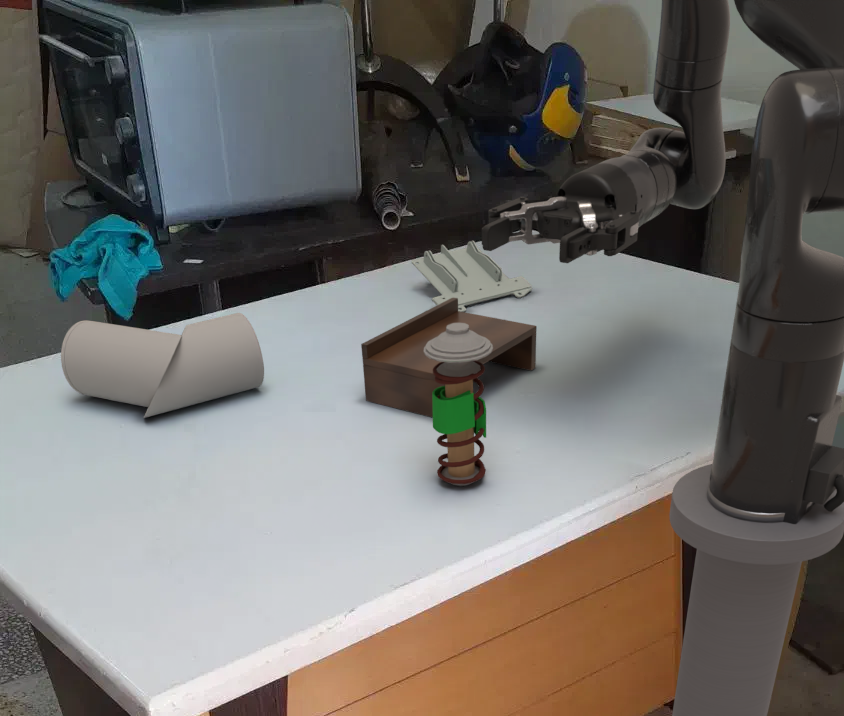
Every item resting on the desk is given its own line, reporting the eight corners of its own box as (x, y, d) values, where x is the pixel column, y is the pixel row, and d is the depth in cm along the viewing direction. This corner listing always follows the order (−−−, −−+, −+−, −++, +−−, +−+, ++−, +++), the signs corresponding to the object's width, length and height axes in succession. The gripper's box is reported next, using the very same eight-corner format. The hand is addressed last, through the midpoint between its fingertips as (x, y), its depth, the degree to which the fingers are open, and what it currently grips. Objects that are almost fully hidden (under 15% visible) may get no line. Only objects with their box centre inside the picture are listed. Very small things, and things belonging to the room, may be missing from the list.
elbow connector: (108, 436, 110) (274, 390, 117) (76, 333, 105) (252, 293, 112) (71, 419, 124) (222, 379, 131) (41, 328, 119) (200, 291, 126)
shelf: (535, 368, 122) (537, 312, 118) (450, 422, 112) (448, 363, 107) (454, 350, 128) (452, 297, 124) (365, 400, 117) (360, 343, 113)
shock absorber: (506, 480, 101) (507, 326, 91) (457, 502, 98) (453, 344, 88) (465, 460, 104) (461, 309, 95) (417, 480, 102) (408, 327, 92)
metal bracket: (396, 247, 143) (485, 228, 148) (393, 286, 148) (480, 266, 153) (448, 302, 136) (539, 280, 141) (443, 341, 141) (532, 318, 146)
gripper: (547, 156, 105) (459, 193, 96) (674, 169, 99) (593, 210, 89) (545, 234, 110) (461, 276, 101) (665, 251, 104) (587, 298, 94)
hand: (523, 245), depth 95 cm, fingers open, 8 cm apart
